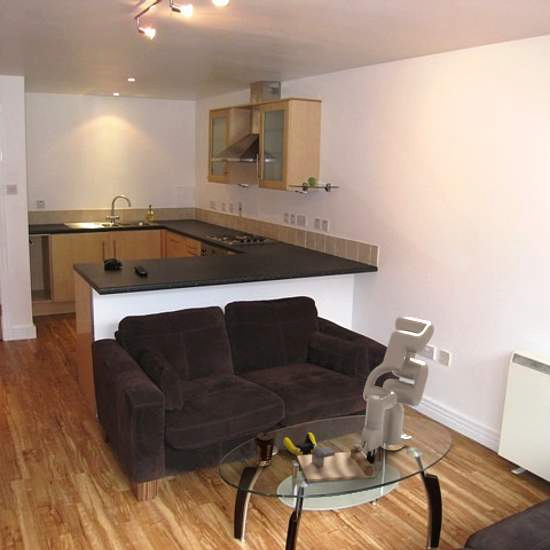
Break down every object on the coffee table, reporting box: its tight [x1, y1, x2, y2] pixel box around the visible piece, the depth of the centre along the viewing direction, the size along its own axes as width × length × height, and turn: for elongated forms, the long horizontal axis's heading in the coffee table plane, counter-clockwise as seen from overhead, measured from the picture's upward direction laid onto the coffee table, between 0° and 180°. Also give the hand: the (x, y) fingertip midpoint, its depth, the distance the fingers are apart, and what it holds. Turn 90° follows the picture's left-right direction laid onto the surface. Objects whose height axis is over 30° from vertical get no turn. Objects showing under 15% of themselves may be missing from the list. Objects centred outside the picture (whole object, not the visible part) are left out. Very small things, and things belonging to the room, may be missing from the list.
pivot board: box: [296, 443, 378, 482], centre depth 257 cm, size 30×18×7 cm, turn 101°
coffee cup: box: [254, 431, 276, 462], centre depth 257 cm, size 9×8×13 cm
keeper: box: [311, 445, 336, 468], centre depth 257 cm, size 8×5×6 cm, turn 113°
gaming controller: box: [282, 432, 318, 457], centre depth 269 cm, size 15×6×10 cm
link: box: [350, 446, 374, 476], centre depth 257 cm, size 18×4×3 cm, turn 16°
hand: (370, 462), depth 258 cm, fingers closed
